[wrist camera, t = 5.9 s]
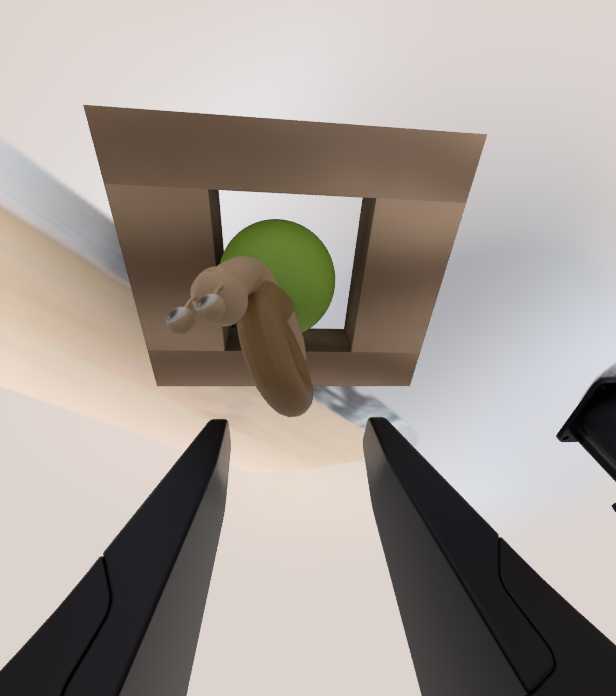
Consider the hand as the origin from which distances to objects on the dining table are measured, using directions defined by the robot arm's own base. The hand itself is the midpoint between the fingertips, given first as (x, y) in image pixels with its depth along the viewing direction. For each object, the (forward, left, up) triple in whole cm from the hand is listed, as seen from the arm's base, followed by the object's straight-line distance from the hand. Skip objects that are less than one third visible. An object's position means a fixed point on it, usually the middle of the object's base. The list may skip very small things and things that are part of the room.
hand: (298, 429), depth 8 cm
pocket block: (0, 0, -12) cm, 12 cm away
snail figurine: (+1, +1, -12) cm, 12 cm away
